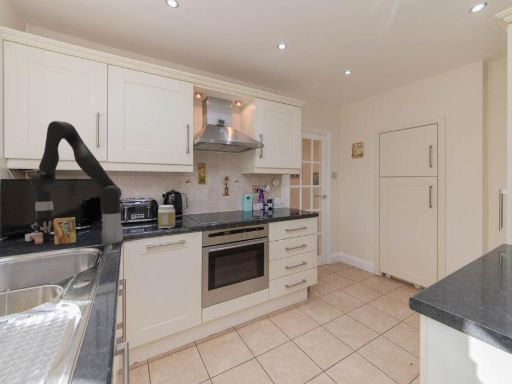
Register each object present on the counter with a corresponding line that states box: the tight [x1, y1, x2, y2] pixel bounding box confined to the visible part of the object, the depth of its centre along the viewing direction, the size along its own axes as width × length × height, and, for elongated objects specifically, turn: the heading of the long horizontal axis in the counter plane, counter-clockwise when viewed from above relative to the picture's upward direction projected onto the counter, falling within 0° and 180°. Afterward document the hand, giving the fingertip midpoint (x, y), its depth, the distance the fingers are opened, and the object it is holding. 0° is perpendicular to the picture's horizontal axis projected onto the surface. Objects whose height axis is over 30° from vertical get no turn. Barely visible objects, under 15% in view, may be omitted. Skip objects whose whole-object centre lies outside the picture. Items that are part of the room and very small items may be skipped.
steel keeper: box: [24, 230, 43, 242], centre depth 135 cm, size 10×11×4 cm
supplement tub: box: [157, 204, 176, 229], centre depth 177 cm, size 12×12×17 cm
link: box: [30, 232, 44, 245], centre depth 133 cm, size 22×5×3 cm, turn 47°
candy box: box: [53, 216, 77, 246], centre depth 128 cm, size 9×4×15 cm, turn 122°
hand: (46, 238), depth 132 cm, fingers closed
